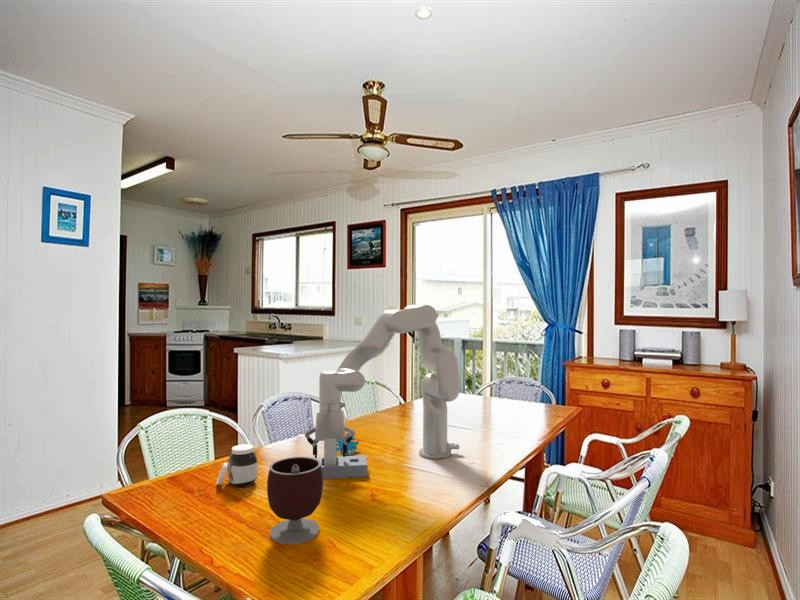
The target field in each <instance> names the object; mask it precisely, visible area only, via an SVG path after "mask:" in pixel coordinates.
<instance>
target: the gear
mask: <svg viewBox="0 0 800 600" xmlns="http://www.w3.org/2000/svg"><path fill="white" fill-rule="evenodd" d="M349 436H350V433H348V432H347V433H346V436H345V438H346V439H347V438H348V437H349ZM355 440H356V439H355V437H354V436H353V438H352V440H351V441H350V442H349V443H348V445H347V454H345V456H351V455H354V454H355V453H356V452H355V451H356V450H357V449H358V447H357V446H358V445H359V444H360V441H359V440H357V441H355ZM337 452H340V453H339V454H340V455H341V456H343V442H342V441H341V440H337Z"/></svg>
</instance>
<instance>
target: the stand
mask: <svg viewBox="0 0 800 600" xmlns="http://www.w3.org/2000/svg"><path fill="white" fill-rule="evenodd" d="M317 460H319V461H320V463H321V469H322V475H323V480H328V479H329V480H331V478H332V479H347V478H348V479H349V477H352V478H366V477H367V476H368V474H369V473H368V472H369V471H368V466H369V465H368V460H367V456H366V454H365V455H349V456H347V455H345V457H343V455H341V456H337V465H328V466H324V456H322V457H321V456H320V457H319V456H317ZM367 478H368V477H367Z"/></svg>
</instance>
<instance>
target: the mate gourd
mask: <svg viewBox="0 0 800 600" xmlns="http://www.w3.org/2000/svg"><path fill="white" fill-rule="evenodd" d="M266 480H267V481H266V482H267V483H266V494H267V500H268V505H269V508H270V510H271V511H272V512H273V513H274V515H275V516H276V517H277V518H279V519H282V520H284V521H281V522H278V523H277V524H275V525H274V526H273V527H272V528H271V529H270V531H269V536H270V537H269V538H270V539H271V541H273V542H274V541H275V543H276V542H277V544H279V543H280V545H284V544H287V545H286V546H288V544H289V546H291V545H290V544H294V545H300V544H299V543H301V544H304V543H306V541H307V542H309V541H308V540H310V541H311V540H314V539H315V538H316V537H317V536H318V535H319V533H320V525H319V523H318V522H317V521H315V520H312V519H309V518H307V517H309V516H311V515H312V514H313V513H314V512H315V511H316V509H317V508H318V506H319V505H320V503H321V500H322V495H323V487H324V484H323V483H324V479H323V475H322V469H321V463H320V461H319V460H318V458H315V457H310V456H293V457H291V456H290V457H285V458H281V459H278V460H276V461H274V462H272V463H270V465H269V470H268V475H267V479H266ZM317 534H318V535H317ZM316 535H317V536H316ZM315 536H316V537H315ZM314 537H315V538H314ZM303 542H304V543H303Z"/></svg>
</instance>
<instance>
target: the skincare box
mask: <svg viewBox="0 0 800 600" xmlns="http://www.w3.org/2000/svg"><path fill="white" fill-rule="evenodd" d="M337 444H338V442H337V440H336V439H324V441H323V454H324V455H323V457H324V466H328V465H337V457H338V453H337V452H338V451H337V447H338V446H337Z"/></svg>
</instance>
